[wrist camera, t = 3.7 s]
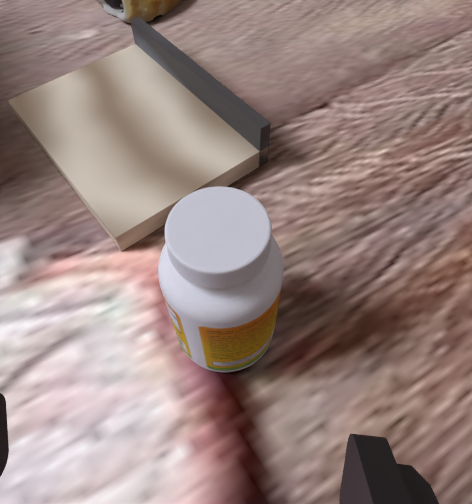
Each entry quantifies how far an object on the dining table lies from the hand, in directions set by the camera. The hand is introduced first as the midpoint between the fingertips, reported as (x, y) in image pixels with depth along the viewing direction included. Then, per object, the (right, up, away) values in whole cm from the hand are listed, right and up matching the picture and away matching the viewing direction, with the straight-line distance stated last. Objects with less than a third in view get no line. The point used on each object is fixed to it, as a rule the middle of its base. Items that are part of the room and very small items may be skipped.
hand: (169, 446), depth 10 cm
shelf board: (-6, +13, +22) cm, 26 cm away
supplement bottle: (+1, 0, +14) cm, 14 cm away
